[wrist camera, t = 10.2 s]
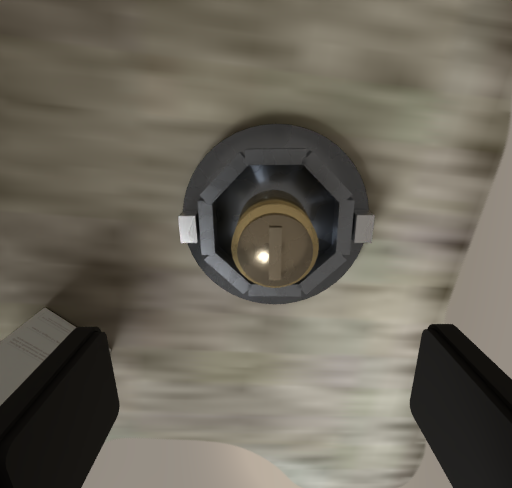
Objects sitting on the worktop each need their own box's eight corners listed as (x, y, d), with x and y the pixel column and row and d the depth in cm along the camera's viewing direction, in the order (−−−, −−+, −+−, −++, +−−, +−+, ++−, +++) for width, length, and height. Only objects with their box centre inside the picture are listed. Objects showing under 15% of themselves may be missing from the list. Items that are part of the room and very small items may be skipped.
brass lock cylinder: (238, 189, 23) (227, 209, 17) (309, 189, 23) (324, 209, 17) (239, 255, 25) (231, 295, 19) (306, 256, 25) (318, 295, 19)
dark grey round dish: (193, 297, 27) (185, 315, 25) (178, 125, 23) (166, 124, 20) (356, 298, 27) (365, 316, 24) (374, 122, 22) (388, 121, 20)
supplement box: (10, 355, 30) (-159, 499, 18) (46, 304, 28) (-118, 428, 16) (77, 395, 32) (-39, 554, 20) (115, 350, 30) (12, 496, 18)
